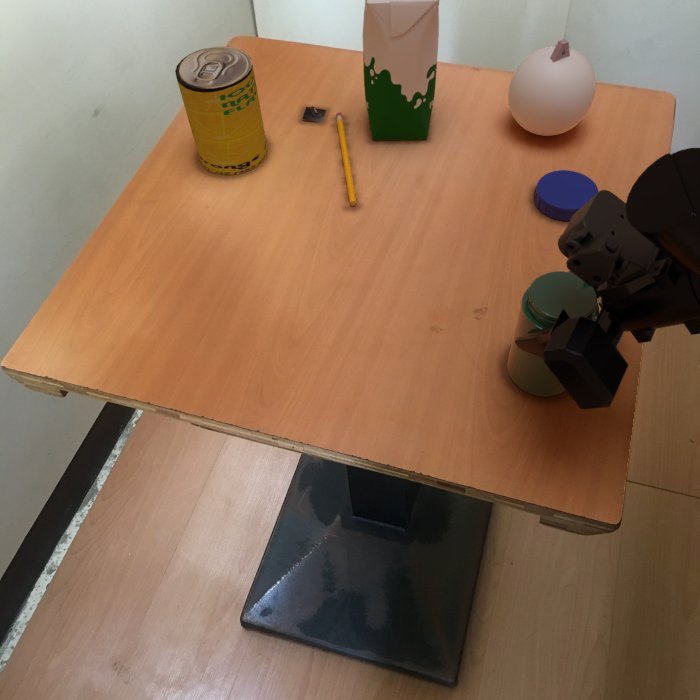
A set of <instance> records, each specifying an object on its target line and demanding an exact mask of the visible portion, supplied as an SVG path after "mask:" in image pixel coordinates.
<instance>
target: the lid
mask: <svg viewBox="0 0 700 700" xmlns="http://www.w3.org/2000/svg"><path fill="white" fill-rule="evenodd" d="M598 188H599V187H598V186H597V184H596V183H595V182H594V181H593V180H592V179H591V178H590V177H589V176H587V175H586V174H583V173H581V172H578V171H575V170H574V171H573V170H568V169H567V170H566V169H560V170H554V171H550V172H547V173H546V174H544V175H543V176H541V177H540V178H539V180H538V181H537V184H536V186H535V188H534V194H533V195H534V196H533V202H534V204H535V206H536V208H537V209H538V211H540V212H541V213H542V214H543V215H545V216H547V217H549V218H551V219H554V220H557V221H563V222H570V220H571V217H572V216H573V215H574V214H575V213H576V212H577V211H578V210H579V209H580V208H582V207H583V206H584V205H585V204H586V203H587V202H588V201H589V200H590V199H592V198H593V197H594V196H595V195H596V194H597V193H598V192H599V189H598Z"/></svg>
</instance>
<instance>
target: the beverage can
mask: <svg viewBox="0 0 700 700" xmlns="http://www.w3.org/2000/svg"><path fill="white" fill-rule="evenodd" d="M174 70H175V77H176V82H177V85H178V88H179V91H180V95H181V99H182V102H183V106H184V110H185V112H186V116H187V120H188V124H189V127H190V130H191V134H192V138H193V140H194V145H195V147H196V152H197V154H198V159H199V162H200V164H201V165H202V167H203V168H204V169H205V170H207V171H209V172H210V173H213V174H216V175H222V176H234V175H240V174H244V173H247V172H249V171H252V170H253V169H255V168H257V167H259V166H260V165H261V164H262V163H263V162H264V161H265V159H266V157H267V155H268V150H269V149H268V142H267V138H266V133H265V125H264V121H263V114H262V110H261V105H260V98H259V91H258V87H257V82H256V75H255V71H254V66H253V60H252V57H251V56H250V55H249V53H247V52H246V51H244V50H242V49H239V48H235V47H233V46H212V47H206V48H202V49H199V50H195V51H193V52H192V53H189V54H188V55H186V56H185V57H183V58H182V59H181V60H180V61H179V62H178V64H177V65H176V67H175V69H174Z"/></svg>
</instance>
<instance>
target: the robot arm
mask: <svg viewBox="0 0 700 700" xmlns="http://www.w3.org/2000/svg"><path fill="white" fill-rule="evenodd" d="M557 248H558V250H559V252H560V253H561V254H562V255H563V256H564V257H565V258H567V260H566V268H567V270H569V271H568V272H569V273H573V274H575V275H576V276H578V277H579V278H580V279H582V280H583V281H584V282H585V283H587V284H588V285H590V286H593V288H594V290H595V292H596V295H597V298H598V299H597V303H598V306H599V308H600V309H599V314H598V316H597V318H596V320H595V321H592V320H589V319H587V318H584V317H582V316H579V317H575V318H570V317H569V315H568V314H567V313H566V311H565V310H564V309H562V310H561V312H560V314H559V316H558V318H557V320H556V321H555V323H554V325H553V326H551V327H547V328H544V329H541V330H538V331H535V332H531V333H528V334H525V335H523V336H521V337H518V338H516V340H515V344H516V345H517V346H518V347H519V349H521V350H523V351H525V352H528V353H531V354H533V355H536V356H539V357H541V358H544V363H545V364H546V366H547V367H548V368H549V369H550V371H551V372H552V373H553V374H554V376H555V377H556V378H557V380H558V381H559V382H560V383H561V385H562V386H563V387H564V388H565V392H566V393H567V394H568V395H569V396H570V397H571V398H572V400H573V402H574V403H575V404H576V405H577V406H578V408H579V409H580V410H592V409H593V410H595V409H604V408H606V409H607V408H610V406H611V405H612V403H613V400H614V399H615V397H616V394H617V392H618V390H619V388H620V385H621V383H622V380H623V379H624V376H625V374H626V371H627V369H628V368H629V363H628V361H626V359H625V358H624V356H623V355H622V353H621V352H620V351H619V349H618V347H619V345H620V343H621V341H622V338H623V337H624V334H625V332H626V333H628V332H630V333H631V335H632V336H633V338H634V339H635V341H636V342H637V343H638V344H642V343H649V342H652V340H653V337H654V335H655V332H656V331H657V329H663V328H668V327H674V326H675V327H676V326H679V325H680V326H681V325H684V327H685V328H686V329H687V331H688V332H689V334H690V335H691V336H694V335H700V147H688V148H684V149H680V150H678V151H675V152H673V153H669V152H668V153H665V154H663V155H662V156H661V157H659V158H656V160H655V161H653V162H652V163H651V164H650V165H648V166H647V167H646V168H645V169H644V171H643V172H642V173H641V174H640V175H639V176H638V177H637V179H636V180H635V182H634V183H633V185H632V186H631V189H630V191H629V193H628V195H627V198H626V202H625V201H624V200H623V199H621V198H620V197H619V196H617V195H616V194H615V193H613V192H612V191H610V190H607V189H602V190H598V193H597V194H596V195H595V196H594V197H593V198H592V199H590V200H589V201H588V202H587V203H586V204H585V205H584V206H583V207H582V208H580V209H579V210H578V211H577V212H576V213H575V214H574V215H573V216H572V217H571V220H570V221H568V224H567V226H566V227H565V229H564V231H563V232H562V233H561V235H560V236H559V238H558V240H557Z"/></svg>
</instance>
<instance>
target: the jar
mask: <svg viewBox="0 0 700 700" xmlns="http://www.w3.org/2000/svg"><path fill="white" fill-rule="evenodd" d="M598 299H599V298H597V295H596V292H595V290H594V288H593V286H590V285H588V284H587V283H585V282H584V281H583V280H582V279H580V278H579V277H578V276H576V275H575V274H573V273H569V271H562V270H561V271H559V270H558V271H557V270H556V271H549V272H546V273H543V274H541V275H540V276H538V277H536V278H534V280H533V281H532V282H531V284H530V286H529V287H527V288H526V290H525V291H524V293H523V295H522V298H521V302H520V306H519V309H518V315H517V319H516V323H515V328H514V331H513V335H512V341H511V344H510V349H509V353H508V357H507V363H506V370H507V374H508V376H509V377H510V380H511V381H512V382H513V383H514V384H515V386H516V387H518V388H519V389H520V390H522V391H524V392H525V393H527V394H529V395H533V396H538V397H553V396H557V395H560V394H562V393H564V392H566V390H565V388H564V387H563V386H562V385H561V383H560V382H559V381H558V380H557V378H556V377H555V376H554V374H553V373H552V372H551V371H550V369H549V368H548V367H547V366H546V364H545V363H544V358H541V357H539V356H536V355H533V354H531V353H528V352H525V351H523V350H521V349H519V347H518V346H517V345H516V344H515V340H516V338H518V337H521V336H523V335H525V334H528V333H531V332H535V331H538V330H541V329H544V328H547V327H551V326H553V325H554V323H555V321H556V320H557V318H558V316H559V314H560V312H561V310H562V309H564V310H565V311H566V313H567V314H568V315H569V317H570V318H575V317H579V316H582V317H584V318H587V319H589V320H592V321H595V320H596V318H597V316H598V314H599V312H600V306H599V304H598Z"/></svg>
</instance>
